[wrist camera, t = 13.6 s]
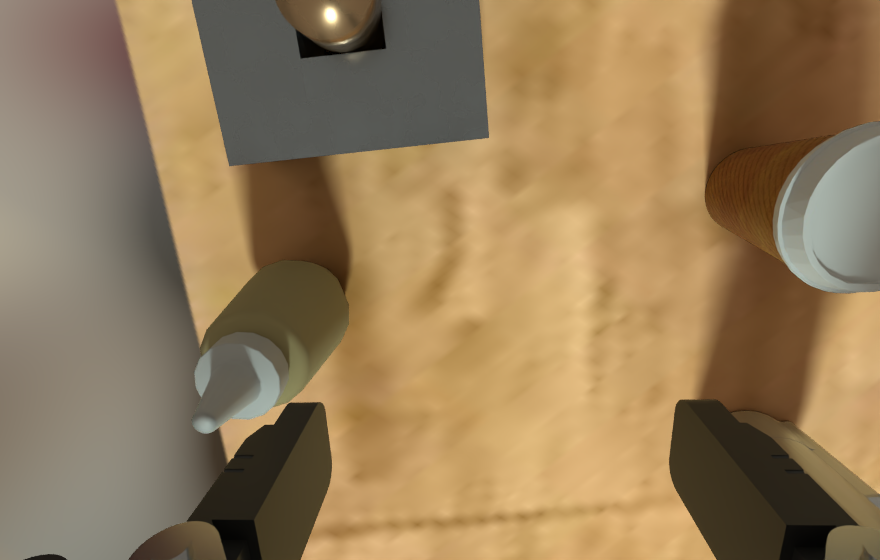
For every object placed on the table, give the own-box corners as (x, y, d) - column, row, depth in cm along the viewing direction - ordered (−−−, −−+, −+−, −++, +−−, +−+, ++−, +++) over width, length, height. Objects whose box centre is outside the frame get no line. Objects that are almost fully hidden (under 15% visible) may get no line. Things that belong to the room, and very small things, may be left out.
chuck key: (388, -12, 33) (363, -81, 22) (397, 64, 34) (377, 33, 23) (319, -3, 33) (261, -69, 22) (331, 72, 34) (282, 44, 24)
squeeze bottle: (248, 255, 38) (89, 354, 21) (347, 241, 38) (268, 330, 21) (272, 346, 40) (148, 503, 23) (366, 334, 40) (309, 484, 23)
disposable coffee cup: (801, 106, 35) (979, 91, 23) (816, 227, 37) (982, 268, 26) (672, 150, 36) (782, 157, 24) (695, 266, 38) (804, 322, 27)
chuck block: (460, -120, 31) (465, -191, 24) (480, 137, 35) (489, 137, 29) (218, -89, 31) (157, -150, 25) (268, 160, 36) (229, 166, 29)
